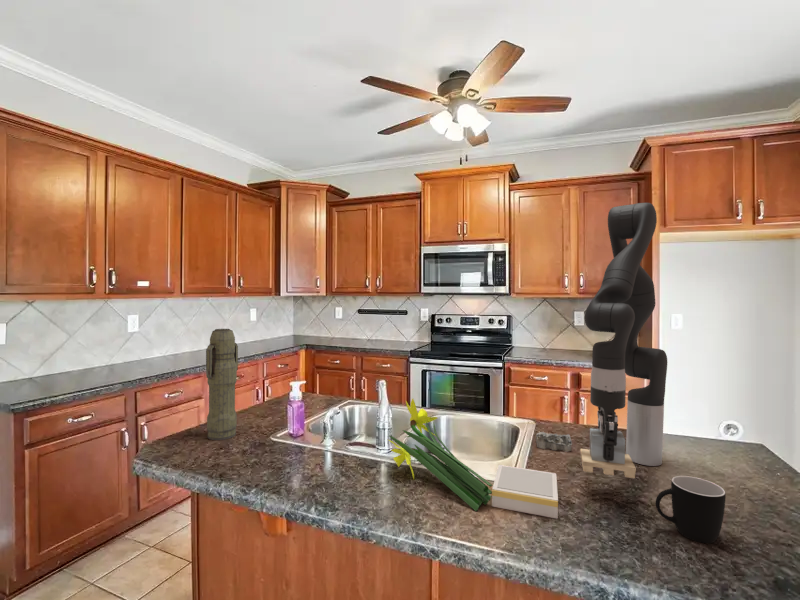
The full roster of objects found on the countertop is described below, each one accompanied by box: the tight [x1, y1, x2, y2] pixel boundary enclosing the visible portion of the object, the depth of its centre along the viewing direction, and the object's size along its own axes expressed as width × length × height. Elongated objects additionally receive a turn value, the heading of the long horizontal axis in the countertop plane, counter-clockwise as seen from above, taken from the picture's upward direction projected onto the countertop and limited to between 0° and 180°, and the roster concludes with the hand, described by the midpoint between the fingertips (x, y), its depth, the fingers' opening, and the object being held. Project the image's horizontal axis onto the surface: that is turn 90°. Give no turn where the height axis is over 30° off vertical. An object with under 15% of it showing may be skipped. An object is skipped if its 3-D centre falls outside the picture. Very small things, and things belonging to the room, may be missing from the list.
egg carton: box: [535, 431, 573, 452], centre depth 131 cm, size 11×8×4 cm
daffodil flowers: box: [386, 397, 493, 512], centre depth 105 cm, size 17×15×35 cm
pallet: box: [579, 427, 637, 479], centre depth 99 cm, size 8×11×8 cm
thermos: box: [205, 328, 239, 441], centre depth 135 cm, size 9×12×35 cm
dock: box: [491, 464, 559, 519], centre depth 98 cm, size 14×14×4 cm
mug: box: [655, 475, 727, 544], centre depth 84 cm, size 12×9×10 cm
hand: (606, 454), depth 99 cm, fingers closed on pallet, 5 cm apart
